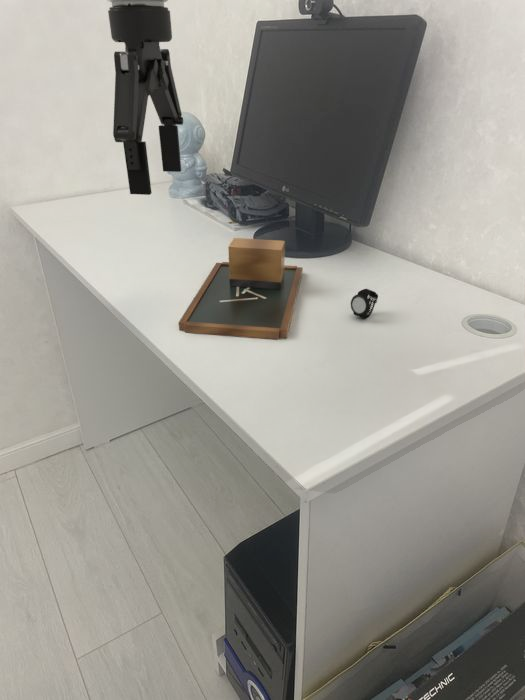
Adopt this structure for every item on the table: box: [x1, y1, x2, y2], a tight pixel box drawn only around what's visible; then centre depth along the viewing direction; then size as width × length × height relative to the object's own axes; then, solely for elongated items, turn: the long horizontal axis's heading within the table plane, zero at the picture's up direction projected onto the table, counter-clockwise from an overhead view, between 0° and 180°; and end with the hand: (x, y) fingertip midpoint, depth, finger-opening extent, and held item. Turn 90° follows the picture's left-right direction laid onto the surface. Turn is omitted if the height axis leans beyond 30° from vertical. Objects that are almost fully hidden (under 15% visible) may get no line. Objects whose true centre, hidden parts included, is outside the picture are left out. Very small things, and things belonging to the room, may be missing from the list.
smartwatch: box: [350, 288, 379, 319], centre depth 90 cm, size 4×5×5 cm
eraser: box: [227, 237, 286, 290], centre depth 99 cm, size 10×5×8 cm, turn 81°
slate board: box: [178, 261, 304, 340], centre depth 98 cm, size 18×28×2 cm, turn 171°
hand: (157, 181), depth 75 cm, fingers open, 13 cm apart
